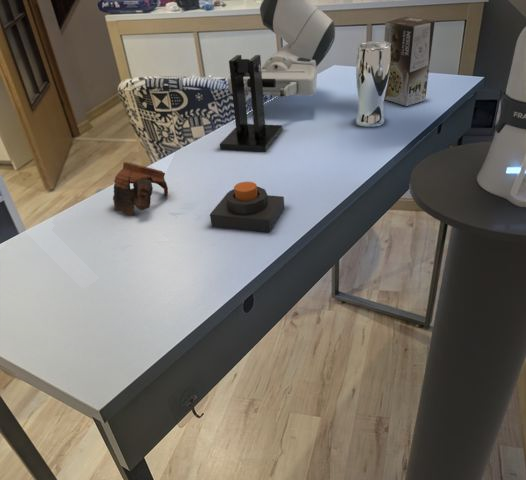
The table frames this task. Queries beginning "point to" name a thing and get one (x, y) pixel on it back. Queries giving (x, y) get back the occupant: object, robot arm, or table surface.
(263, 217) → the control block
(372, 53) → the beer glass
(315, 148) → the table surface
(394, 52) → the coffee box
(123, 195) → the brown arched piece
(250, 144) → the black headphone stand
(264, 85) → the lever handle
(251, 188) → the button
